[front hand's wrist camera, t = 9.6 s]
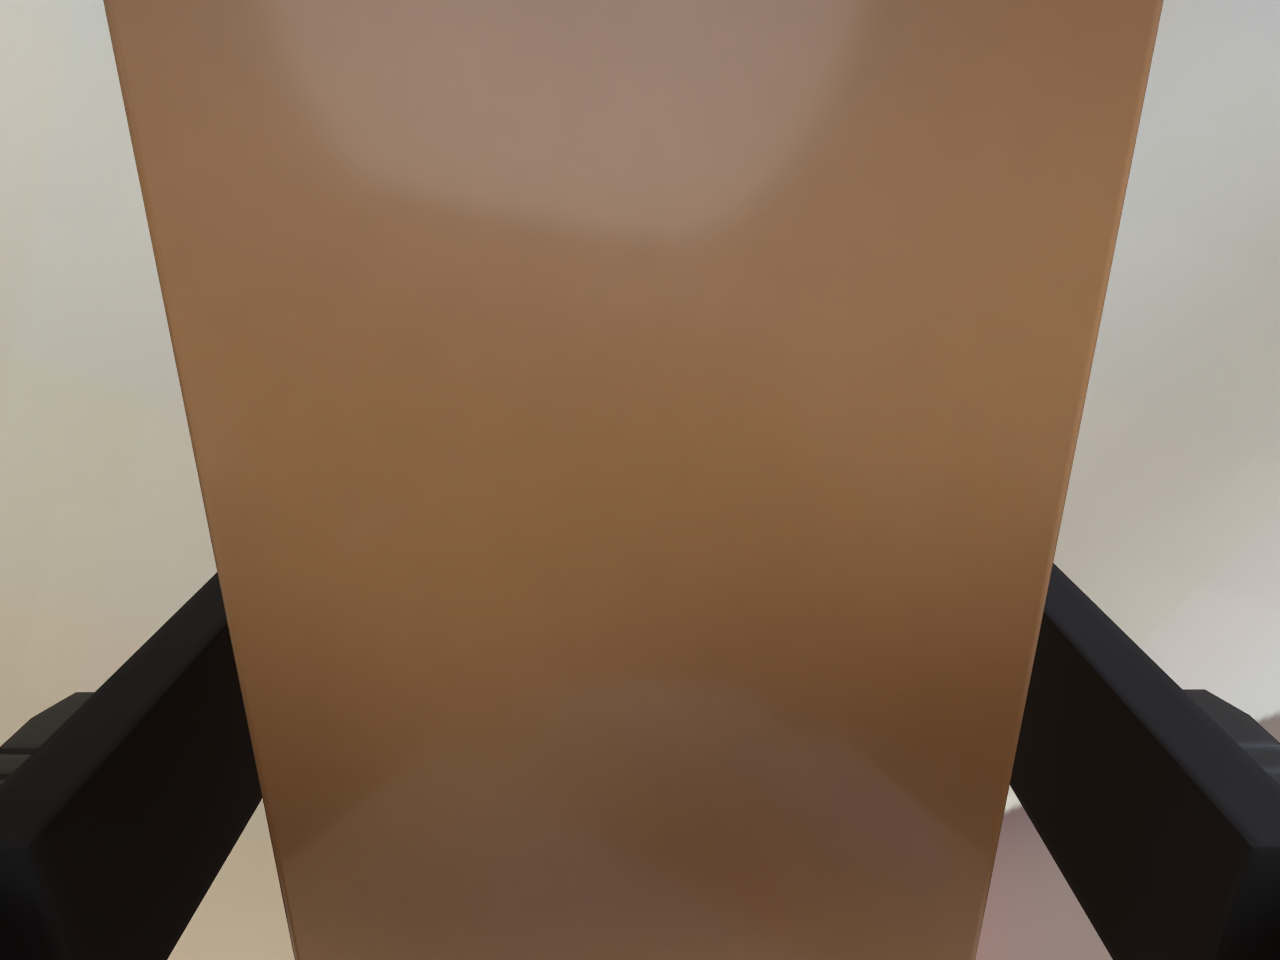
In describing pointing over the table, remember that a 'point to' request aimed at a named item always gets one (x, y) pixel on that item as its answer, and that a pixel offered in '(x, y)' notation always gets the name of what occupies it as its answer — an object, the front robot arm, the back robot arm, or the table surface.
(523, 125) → the bar
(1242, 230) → the table surface
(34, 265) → the table surface
